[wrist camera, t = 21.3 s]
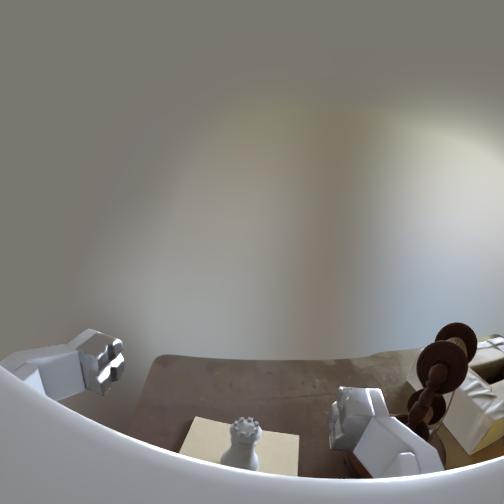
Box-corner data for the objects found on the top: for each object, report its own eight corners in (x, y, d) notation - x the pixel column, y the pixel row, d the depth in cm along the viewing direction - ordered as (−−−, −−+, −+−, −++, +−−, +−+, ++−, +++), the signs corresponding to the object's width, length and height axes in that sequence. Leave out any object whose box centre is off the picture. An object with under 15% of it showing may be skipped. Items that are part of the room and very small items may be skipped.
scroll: (408, 519, 18) (513, 388, 13) (317, 462, 29) (371, 326, 24) (450, 452, 27) (516, 333, 23) (376, 413, 38) (421, 297, 34)
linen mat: (159, 496, 21) (159, 494, 21) (195, 418, 35) (195, 416, 35) (293, 522, 20) (294, 521, 20) (298, 437, 33) (298, 435, 33)
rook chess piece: (246, 487, 24) (256, 448, 22) (211, 470, 26) (215, 428, 24) (264, 463, 28) (276, 421, 26) (232, 448, 30) (238, 404, 28)
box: (469, 460, 25) (547, 406, 29) (496, 422, 23) (563, 375, 28) (402, 382, 47) (490, 361, 52) (415, 348, 46) (501, 334, 50)
